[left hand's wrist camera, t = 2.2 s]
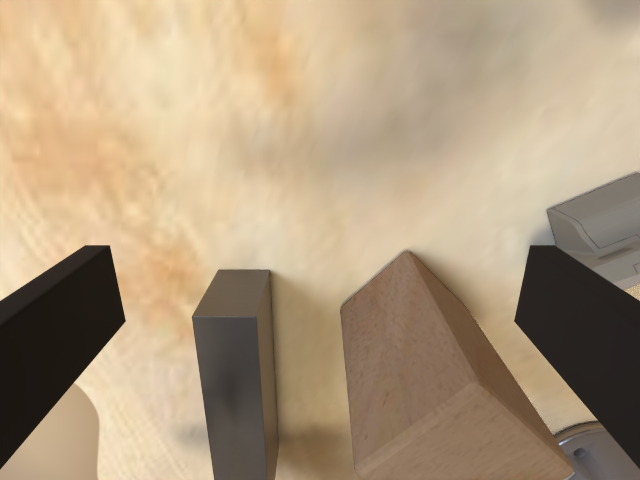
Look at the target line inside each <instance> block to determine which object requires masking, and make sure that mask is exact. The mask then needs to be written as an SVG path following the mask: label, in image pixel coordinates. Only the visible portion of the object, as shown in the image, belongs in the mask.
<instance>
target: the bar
mask: <svg viewBox="0 0 640 480" xmlns="http://www.w3.org/2000/svg"><path fill="white" fill-rule="evenodd" d="M192 321H193V328H194V335H195V343H196V350H197V357H198V364H199V372H200V379H201V386H202V394H203V401H204V408H205V415H206V423H207V430H208V437H209V444H210V452H211V459H212V466H213V474H214V480H275V474H276V465H277V457H278V448H279V442H278V423H277V403H276V384H275V365H274V345H273V326H272V306H271V287H270V270H218V272H217V273H216V275H215V277H214V279H213V280H212V282H211V284H210V286H209V287H208V289H207V291H206V293H205V294H204V296H203V298H202V300H201V301H200V303H199V305H198V307H197V308H196V310H195V312H194V314H193V315H192Z"/></svg>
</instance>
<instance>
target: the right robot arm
mask: <svg viewBox="0 0 640 480" xmlns="http://www.w3.org/2000/svg"><path fill="white" fill-rule="evenodd" d="M554 438H555V439H556V441H557V442H558V444H559V445H560V446H561V448H562V449H563V451H564V452H565V454H566V455H567V457H568V458H569V460H570V461H571V463H572V466H573V470H574V472H573V473H572V474H571V475H570V476H569V477H567V478H565V479H563V480H640V469H639V468H638V467H637V466H636V464H635V463H634V462H633V461H632V460H631V459H630V457H629V456H628V455H627V454H626V453H625V451H624V450H623V449H622V448H621V447H620V446H619V444H618V443H617V442H616V441H615V440H614V438H613V437H612V436H611V435H610V434H609V433H608V431H607V430H606V429H605V428H604V427H603V425H602V424H601V423H600V422H592V423H586V424H581V425H578V426H575V427H572V428H569V429H567V430H564V431H562V432H560V433H559V434H557V435H555V436H554Z"/></svg>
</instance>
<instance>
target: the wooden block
mask: <svg viewBox="0 0 640 480" xmlns="http://www.w3.org/2000/svg"><path fill="white" fill-rule="evenodd" d="M340 314H341V325H342V336H343V347H344V357H345V368H346V379H347V390H348V401H349V412H350V423H351V433H352V444H353V455H354V466H355V470H356V473H357V474H358V476H359V477H360V478H362V479H363V480H563V479H565V478H567V477H569V476H570V475H571V474H572V473H573V472H574V470H573V466H572V463H571V461H570V460H569V458H568V457H567V455H566V454H565V452H564V451H563V449H562V448H561V446H560V445H559V444H558V442H557V441H556V439H555V438H554V436H553V435H552V433H551V432H550V430H549V429H548V427H547V426H546V424H545V423H544V421H543V420H542V418H541V417H540V416H539V414H538V413H537V411H536V410H535V408H534V407H533V405H532V404H531V402H530V401H529V399H528V398H527V396H526V395H525V393H524V392H523V390H522V389H521V387H520V386H519V385H518V383H517V382H516V380H515V379H514V377H513V376H512V374H511V373H510V371H509V370H508V368H507V367H506V365H505V364H504V362H503V361H502V359H501V358H500V356H499V355H498V354H497V352H496V351H495V349H494V348H493V346H492V345H491V343H490V342H489V340H488V339H487V337H486V336H485V334H484V333H483V331H482V330H481V328H480V327H479V325H478V324H477V323H476V321H475V320H474V318H473V317H472V315H471V314H470V312H469V311H468V309H467V308H466V306H465V305H464V304H463V303H462V302H461V301H460V300H459V299H458V298H457V297H456V296H455V295H454V294H453V293H452V292H451V291H450V290H448V289H447V288H446V287H445V286H444V285H443V284H442V283H441V282H440V281H439V280H438V279H437V278H436V277H435V276H434V275H433V274H432V273H431V272H430V271H429V270H428V269H427V268H426V267H425V266H424V265H423V264H422V263H421V262H420V261H419V260H418V259H417V258H416V257H415V256H414V255H413V254H412V253H411V252H408V251H406V252H404V253H403V254H402V255H400V256H399V257H398V258H397V259H396V260H395V261H394V262H392V263H391V264H390V265H389V266H388V267H387V268H386V269H384V270H383V271H382V272H381V273H380V274H379V275H378V276H376V277H375V278H374V279H373V280H372V281H371V282H370V283H368V284H367V285H366V286H365V287H364V288H363V289H362V290H360V291H359V292H358V293H357V294H356V295H355V296H354V297H352V298H351V299H350V300H349V301H348V302H347V303H345V304H344V305H343V306H342V307H341V309H340Z"/></svg>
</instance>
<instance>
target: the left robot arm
mask: <svg viewBox="0 0 640 480" xmlns="http://www.w3.org/2000/svg"><path fill="white" fill-rule="evenodd" d="M125 321H126V320H125V316H124V311H123V306H122V301H121V297H120V292H119V287H118V282H117V278H116V273H115V268H114V263H113V258H112V254H111V249H110V245H85V246H84V247H82V248H81V249H79V250H78V251H76V252H74V253H73V254H71V255H70V256H68V257H67V258H65V259H64V260H62V261H61V262H59V263H58V264H56V265H55V266H53V267H52V268H50V269H49V270H47V271H45V272H44V273H42V274H41V275H39V276H38V277H36V278H35V279H33V280H32V281H30V282H29V283H27V284H26V285H24V286H23V287H21V288H20V289H18V290H16V291H15V292H13V293H12V294H10V295H9V296H7V297H6V298H4V299H3V300H1V301H0V469H1V468H2V467H3V466H4V464H5V463H6V462H7V461H8V460H9V458H10V457H11V456H12V455H13V454H14V453H15V451H16V450H17V449H18V448H19V447H20V446H21V444H22V443H23V442H24V441H25V440H26V438H27V437H28V436H29V435H30V434H31V432H32V431H33V430H34V429H35V428H36V427H37V425H38V424H39V423H40V422H41V421H42V420H43V418H44V417H45V416H46V415H47V414H48V412H49V411H50V410H51V409H52V408H53V406H54V405H55V404H56V403H57V402H58V401H59V399H60V398H61V397H62V396H63V395H64V394H65V392H66V391H67V390H68V389H69V388H70V386H71V385H72V384H73V383H74V382H75V381H76V379H77V378H78V377H79V376H80V375H81V373H82V372H83V371H84V370H85V369H86V368H87V366H88V365H89V364H90V363H91V362H92V360H93V359H94V358H95V357H96V356H97V355H98V353H99V352H100V351H101V350H102V349H103V347H104V346H105V345H106V344H107V343H108V342H109V340H110V339H111V338H112V337H113V336H114V334H115V333H116V332H117V331H118V330H119V329H120V327H121V326H122V325H123V324H124V323H125ZM514 321H515V323H516V324H517V325H518V326H519V327H520V329H521V330H522V331H523V332H524V333H525V334H526V336H527V337H528V338H529V339H530V340H531V342H532V343H533V344H534V345H535V346H536V347H537V349H538V350H539V351H540V352H541V353H542V355H543V356H544V357H545V358H546V359H547V360H548V362H549V363H550V364H551V365H552V366H553V368H554V369H555V370H556V371H557V372H558V373H559V375H560V376H561V377H562V378H563V379H564V381H565V382H566V383H567V384H568V385H569V386H570V388H571V389H572V390H573V391H574V392H575V394H576V395H577V396H578V397H579V398H580V399H581V401H582V402H583V403H584V404H585V405H586V407H587V408H588V409H589V410H590V411H591V412H592V414H593V415H594V416H595V417H596V418H597V420H598V421H599V422H600V423H601V424H602V425H603V427H604V428H605V429H606V430H607V431H608V433H609V434H610V435H611V436H612V437H613V438H614V440H615V441H616V442H617V443H618V444H619V446H620V447H621V448H622V449H623V450H624V451H625V453H626V454H627V455H628V456H629V457H630V459H631V460H632V461H633V462H634V463H635V464H636V466H637V467H638V468H639V469H640V301H639V300H637V299H636V298H634V297H633V296H631V295H630V294H628V293H627V292H625V291H624V290H622V289H620V288H619V287H617V286H616V285H614V284H613V283H611V282H610V281H608V280H607V279H605V278H604V277H602V276H601V275H599V274H598V273H596V272H595V271H593V270H591V269H590V268H588V267H587V266H585V265H584V264H582V263H581V262H579V261H578V260H576V259H575V258H573V257H572V256H570V255H569V254H567V253H566V252H564V251H562V250H561V249H559V248H558V247H556V246H555V245H530V249H529V254H528V258H527V263H526V268H525V273H524V278H523V282H522V287H521V292H520V297H519V301H518V306H517V311H516V316H515V320H514Z"/></svg>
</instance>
